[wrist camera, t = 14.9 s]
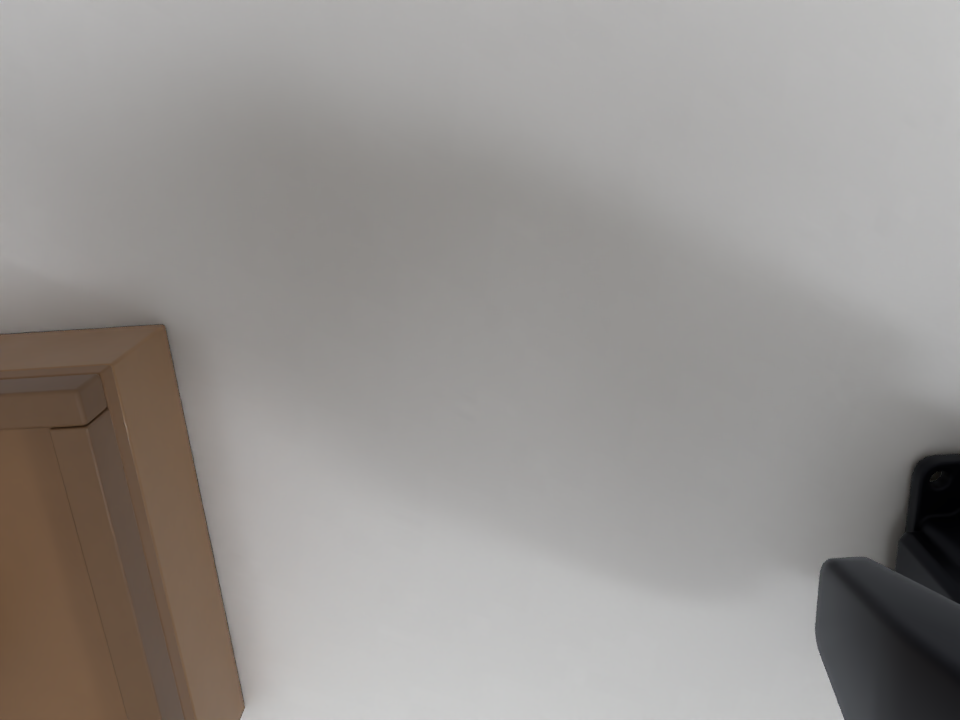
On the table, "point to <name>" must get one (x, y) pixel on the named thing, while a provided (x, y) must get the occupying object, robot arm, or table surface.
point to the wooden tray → (104, 537)
